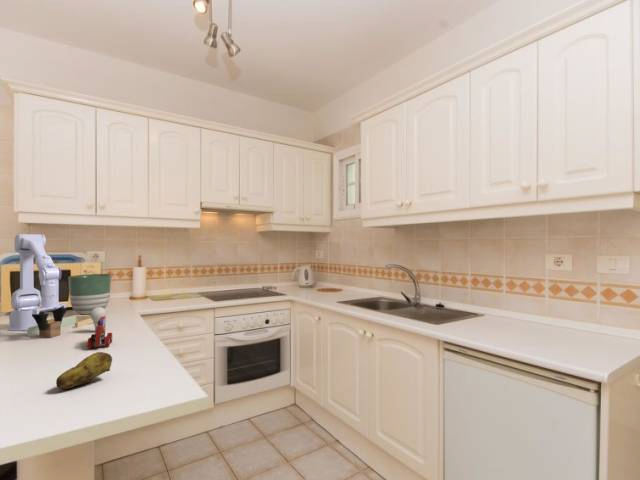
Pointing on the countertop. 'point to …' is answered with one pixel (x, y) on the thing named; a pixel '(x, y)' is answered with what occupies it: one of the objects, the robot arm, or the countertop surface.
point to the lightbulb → (97, 315)
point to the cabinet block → (51, 329)
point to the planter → (89, 292)
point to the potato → (85, 370)
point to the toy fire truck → (100, 335)
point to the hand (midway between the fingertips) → (50, 327)
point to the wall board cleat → (66, 323)
